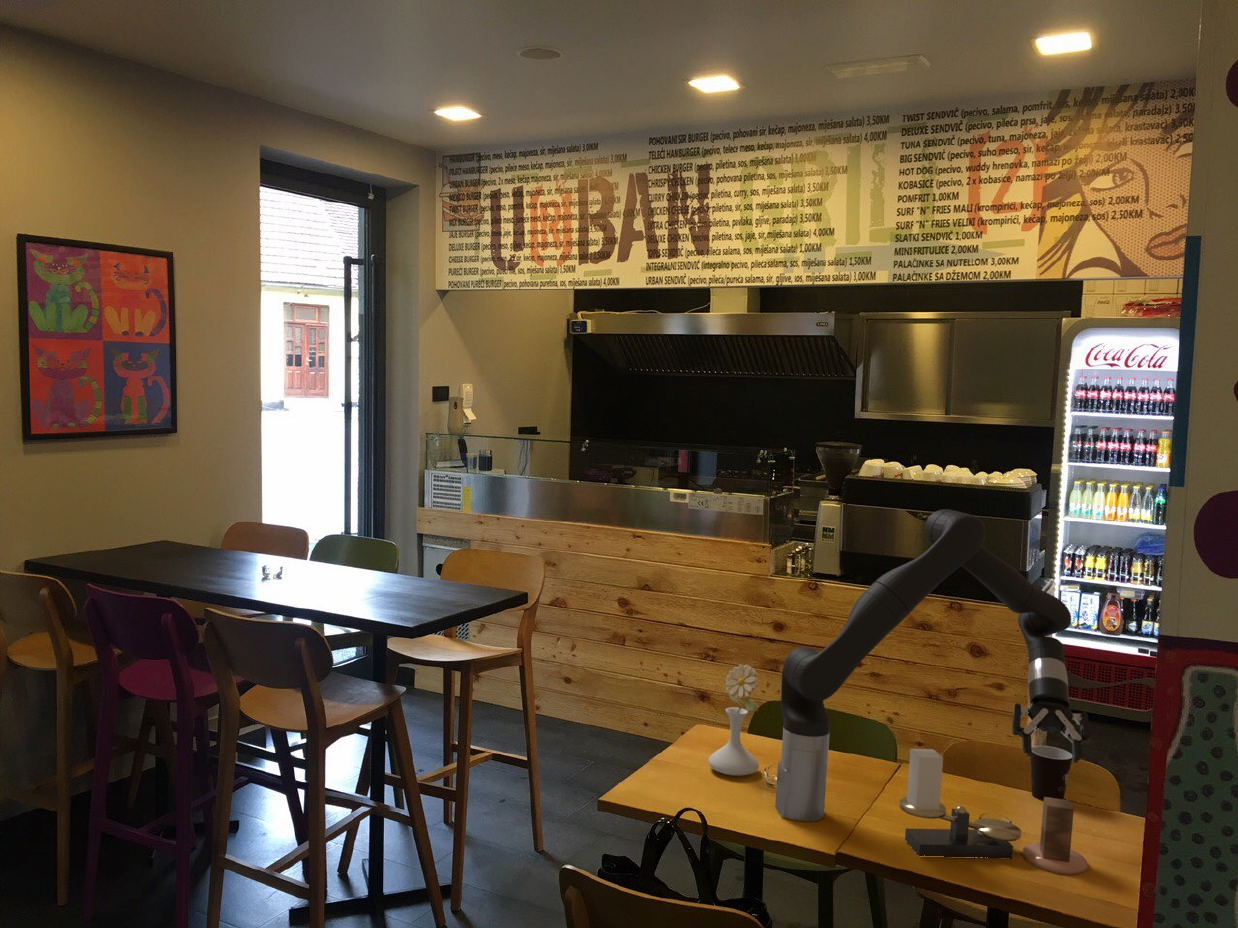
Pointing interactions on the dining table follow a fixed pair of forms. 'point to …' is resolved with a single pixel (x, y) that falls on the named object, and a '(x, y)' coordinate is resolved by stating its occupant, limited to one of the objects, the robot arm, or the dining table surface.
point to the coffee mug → (1049, 772)
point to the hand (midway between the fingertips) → (1052, 757)
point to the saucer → (1055, 861)
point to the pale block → (924, 779)
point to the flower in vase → (737, 725)
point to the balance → (960, 835)
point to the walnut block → (1056, 829)
